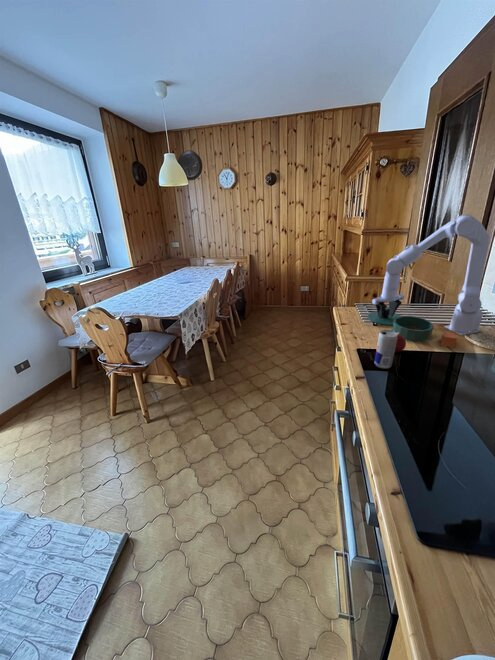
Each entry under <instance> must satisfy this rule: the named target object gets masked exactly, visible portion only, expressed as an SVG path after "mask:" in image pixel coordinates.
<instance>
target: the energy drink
mask: <svg viewBox="0 0 495 660" xmlns="http://www.w3.org/2000/svg"><path fill="white" fill-rule="evenodd" d="M397 338H398V337H397V333H396V332H394V331H392V329H383V330H380V332H379V334H378V339H377V344H376V350H375V356H374V361H373V363H374V365H375V366H376V367H377V368H379V369H382V370H383V369H384V370H387V369H390V368H391V367H392V366H393V361H394V357H395V353H396V352H395V347H396V342H397Z"/></svg>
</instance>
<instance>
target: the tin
mask: <svg viewBox="0 0 495 660" xmlns="http://www.w3.org/2000/svg"><path fill="white" fill-rule="evenodd" d="M400 316H401V317H397V318H396V319H394V324H393V325H392V329H391V331H394V332H396V333H398V332H399V333H400V335H401V336H403V337H404V339H405V340H406V341H409V342H425V341H428V340H430V339H431V337H432V333H433V330H434V324H433V323H432V322H431V321H430V320H427V319H426V318H424V317H423V318H422V317H420V316H419V317H418V316H411V315H400ZM408 327H410V328H408ZM411 328H415V329H411Z"/></svg>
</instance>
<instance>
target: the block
mask: <svg viewBox="0 0 495 660" xmlns="http://www.w3.org/2000/svg"><path fill="white" fill-rule="evenodd" d="M457 338H458V337H457V333H455V332H447V331H442V334H441V338H440V345H441V346H446V347H451V348H455V346H456V342H457Z"/></svg>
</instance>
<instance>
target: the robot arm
mask: <svg viewBox="0 0 495 660" xmlns="http://www.w3.org/2000/svg"><path fill="white" fill-rule="evenodd" d="M455 234H456V235H457V236H459V237H461V238H463V239H467V240H468V241H469V242H470V243H471V244H470V249H469V255H468V261H467V267H466V271H465V272H466V273H465V277H464V283H463V286H462V289H461V291H460V292H459V294H458V295H457V301H458V304H457V305H456V306H455V307H454V310H453V314H452V317H451V320H450V324H449V325H444V326H443V327H444V328H446V329H448V330H450V331H452V332H453V333H455V334H458V335H460V336H465V335H469V334H470V335H471V334H475V333H479V332H481V330H480V329H479V328H480V326H481V323H482V319H483V317H484V316H483V315H484V314H483V311H482V310H481V308H482V305H483V304H482V303H483V302H482V301H481V284H482V280H483V275H484V270H485V269H484V268H485V265H486V259H487V255H488V250H489V245H490V240H491V236H490V234H489V233H488V231H487V229H486V228H485V226H484V225H483V223H482V222H481V221H479V220H478V219H477V218H476V217H474V216H472V215H471V214H466V213H465V214H460V215H459V216H457V217H456V218H454V219H452V220H450V221H449V222H447V223H445V224H444V225H442V226H441V227H440V228H438V229H437V230H436V231H434V232H433V233H431V234H430V235H429V236H428V237H426V238H424V240H422V241H420V243H418V244H411V245H407V246H406V247H405V249H404V250H403V251H401V252H400V253H399V254H395V255H394V257H392V258H390V259H389V260H388V262H387V263H386V267H385V270H386V271H385V275H384V279H383V285H382V292H381V294H380V296H378V297H375V298H372V300H371V301H372V303H371V304H373V305H375V308H376V311H377V313H378V317H379V318H380V319H382V318H383V314H384V311H385V309H386V308H389V309H390V311H389V316H391V317H393V315H394V313H396V311H397V309H398V308H399V307H400V306H401V305H402V303H403V302H402V301H404V300H405V297H406V296H405V295H404V294H402V293H399V294H398V290H399V285H400V282H401V281H400V280H401V272H402V271H403V268H406V267H408V266H409V265H411V264H413V263H415V262H416V261H417V260H419V259H420V258H422V256H423V252H425V251H426V250H428V249H429V248H431V247H433V246H434V245H436V244H437V243H439V242H441V241H442V240H443V239H447V238H455ZM385 303H388V305H386V304H385ZM469 331H470V332H469Z"/></svg>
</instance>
